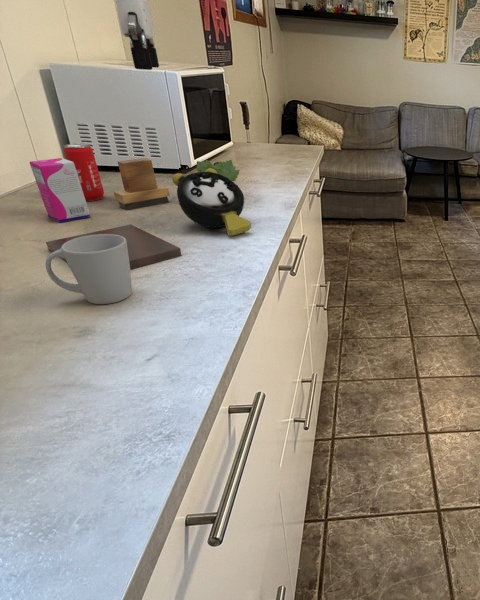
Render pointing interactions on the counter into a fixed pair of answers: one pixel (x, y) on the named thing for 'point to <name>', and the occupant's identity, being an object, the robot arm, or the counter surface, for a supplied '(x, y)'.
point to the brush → (139, 185)
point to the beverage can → (85, 170)
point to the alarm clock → (211, 200)
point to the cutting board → (132, 245)
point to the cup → (96, 267)
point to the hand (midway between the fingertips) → (147, 68)
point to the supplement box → (60, 189)
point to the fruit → (219, 168)
